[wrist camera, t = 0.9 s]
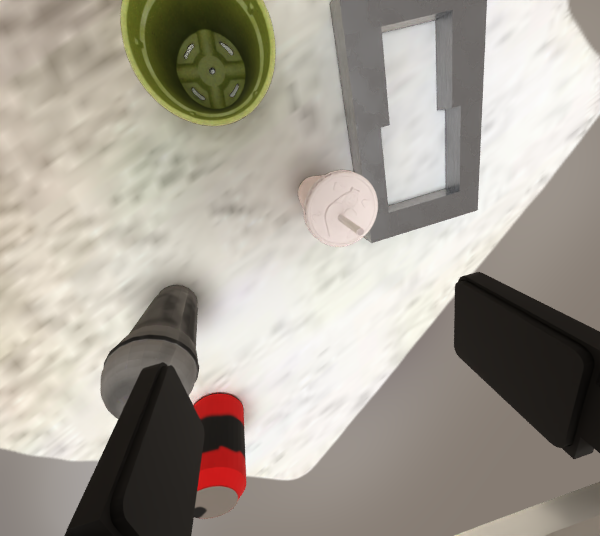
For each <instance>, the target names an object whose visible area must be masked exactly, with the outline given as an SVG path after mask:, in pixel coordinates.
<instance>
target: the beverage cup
mask: <svg viewBox="0 0 600 536" xmlns="http://www.w3.org/2000/svg"><path fill="white" fill-rule="evenodd" d="M197 311H198V308H197V298H196V296H195V294H194V293H193V292H192V291H191V290H190V289H189V288H186V287H184V286H179V285H174V286H169V287H167V288H164V289H163V290H162V291H161V292H160V293H159V295H158V296H157V297H156V298H155V299H154V300H153V301H152V303H151V304H150V306H149V307H148V308H147V310H146V311H145V313H144V314H143V315H142V317H141V318H140V319H139V321H138V322H137V324H136V325H135V326H134V328H133V329H132V330H131V332H130V333H129V335H128V336H126V337H125V338H124V339H123V340H122V341H121V342H120V343H119V344H118V345H117V346H116V347H115V348H114V349H112V350H111V351H110V352H109V354H108V356H107V358H106V360H105V362H104V369H103V371H102V375H101V396H102V399H103V402H104V404H105V406H106V408H107V409H108V411H109V412H110V413H111V414H112V415H114V416H115V417H116V418H117V419H119V417H120V415H121V413H122V411H123V409H124V406H125V404H126V402H127V400H128V398H129V396H130V394H131V391H132V389H133V387H134V385H135V383H136V381H137V379H138V376H139V374H140V372H141V370H142V369H143V368H145V367H148V366H152V365H155V364H159V363H162V362H164V363H166V364H167V366H169V365H172V366H173V367H174V368H175V370H176V372H177V374H178V376H179V378H180V380H181V382H182V384H183V386H184V388H185V390H186V392H187V394H188V396H189V394H190V392H191V391H192V389H193V387H194V383H195V382H196V380H197V378H198V372H199V365H198V359H197V352H196V332H197Z"/></svg>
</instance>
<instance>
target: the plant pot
mask: <svg viewBox="0 0 600 536" xmlns="http://www.w3.org/2000/svg"><path fill="white" fill-rule="evenodd" d="M120 24H121V31H122V38H123V43H124V47H125V51H126V54H127V57H128V60H129V62H130V64H131V67H132V69H133V71H134V73H135V75H136V76H137V78H138V79H139V81H140V83H141V84H142V85H143V87H144V88H145V89H146V91H147V92H148V93H149V94H150V95H151V96H152V97H153V98H154V99H155V100H156V101H157V102H158V103H159V104H160V105H161V106H163V107H164V108H165V109H167V110H168V111H170V112H171V113H173V114H174V115H176V116H178V117H180V118H182V119H184V120H187V121H189V122H192V123H195V124H200V125H206V126H222V125H227V124H231V123H234V122H236V121H239V120H241V119H242V118H244V117H246V116H247V115H248V114H250V113H251V112H252V111H253V110H254V109H255V108H256V107H257V106H258V105H259V103H260V102H261V101H262V99H263V98H264V96H265V94H266V92H267V90H268V88H269V86H270V83H271V80H272V76H273V72H274V66H275V54H276V52H275V38H274V32H273V26H272V23H271V19H270V16H269V13H268V10H267V8H266V6H265V4H264V2H263V0H122V5H121V17H120ZM221 42H222V43H224V44H226V45H227V46H229V47H230V49H231V50H232V51H233V55H232V56H231V55H230V54H229V53H228V51H227V50H226V49H225V48H224V47H222V45H220V43H221ZM190 44H194V48H193V49H192V50H191V52H190V53H189V55H188V58H187V59H185V57H184V54H185V52H186V50H187V47H188V46H189V45H190ZM210 68H214V69H215V73H214V74H213V75H212V74H210V72H209V70H210ZM236 84H238V85H239V88H238V91H237V92H236V94H235V95H234V97H230V94H231V93H232V91H233V90H234V88H235V86H236ZM192 88H194V89H195V90H196V91H197V92H198V93H199V94H201V95H202V96H204V97H205V100H200V99H199V98H198V97H197V96H196V95H195V94H194V93H193V92H192Z"/></svg>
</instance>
